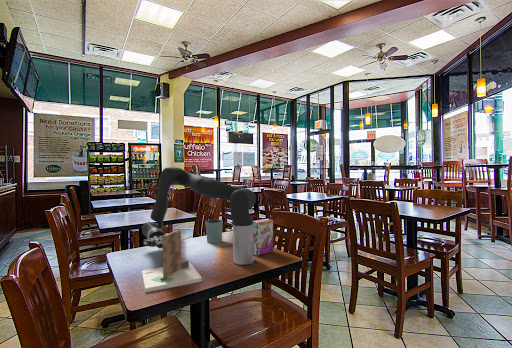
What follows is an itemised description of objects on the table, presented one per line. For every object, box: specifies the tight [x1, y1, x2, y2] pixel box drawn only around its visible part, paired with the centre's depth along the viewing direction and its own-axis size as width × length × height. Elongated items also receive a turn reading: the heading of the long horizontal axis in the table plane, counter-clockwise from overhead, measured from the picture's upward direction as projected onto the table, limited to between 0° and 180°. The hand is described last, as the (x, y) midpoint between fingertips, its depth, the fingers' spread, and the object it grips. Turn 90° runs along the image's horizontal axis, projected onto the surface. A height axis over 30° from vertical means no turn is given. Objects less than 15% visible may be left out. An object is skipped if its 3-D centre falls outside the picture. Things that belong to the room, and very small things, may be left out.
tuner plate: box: [141, 262, 203, 294], centre depth 111 cm, size 20×18×2 cm
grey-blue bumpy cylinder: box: [205, 219, 224, 245], centre depth 163 cm, size 10×10×12 cm
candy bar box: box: [253, 218, 274, 257], centre depth 141 cm, size 11×5×16 cm, turn 131°
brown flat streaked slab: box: [160, 229, 190, 280], centre depth 112 cm, size 17×4×16 cm, turn 163°
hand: (160, 246), depth 120 cm, fingers closed
